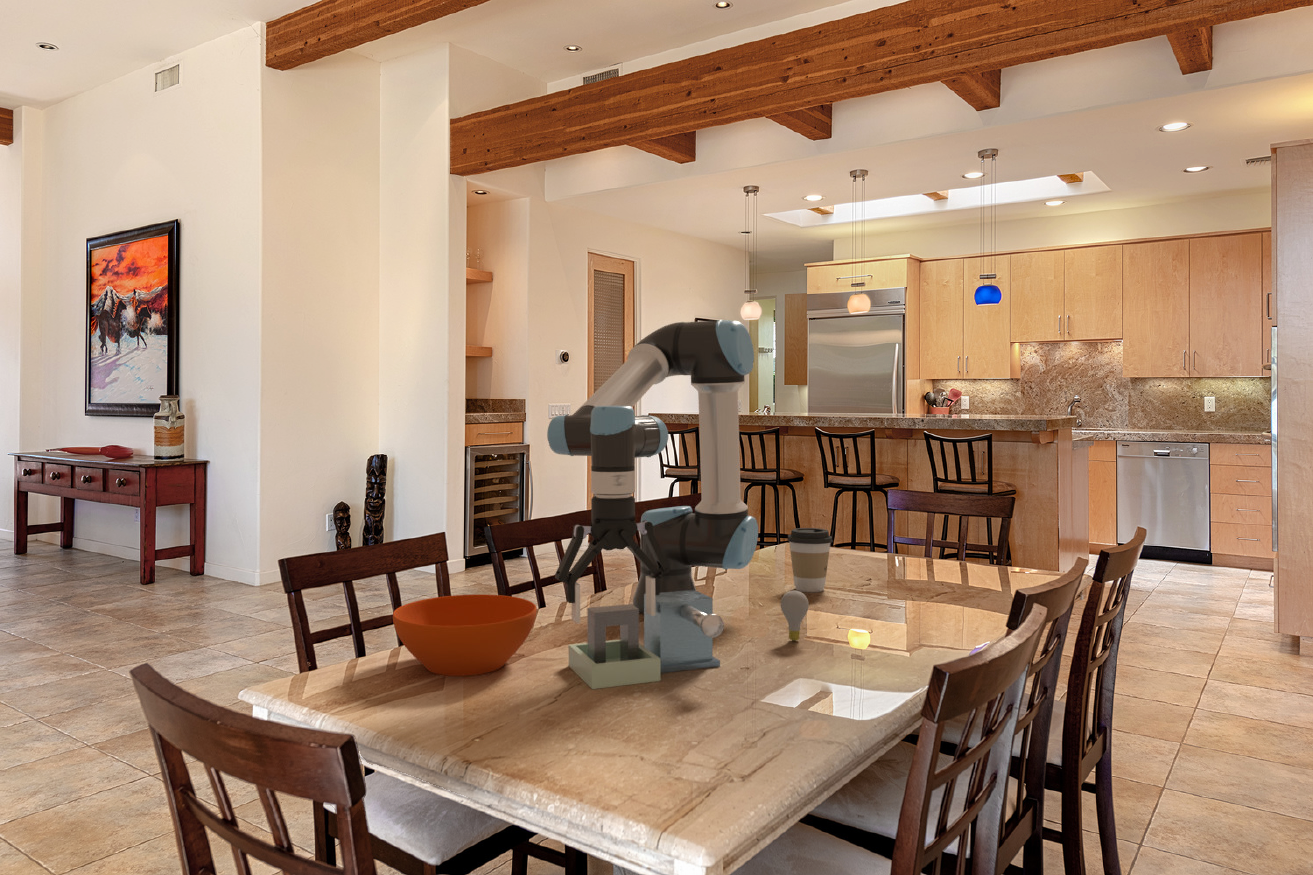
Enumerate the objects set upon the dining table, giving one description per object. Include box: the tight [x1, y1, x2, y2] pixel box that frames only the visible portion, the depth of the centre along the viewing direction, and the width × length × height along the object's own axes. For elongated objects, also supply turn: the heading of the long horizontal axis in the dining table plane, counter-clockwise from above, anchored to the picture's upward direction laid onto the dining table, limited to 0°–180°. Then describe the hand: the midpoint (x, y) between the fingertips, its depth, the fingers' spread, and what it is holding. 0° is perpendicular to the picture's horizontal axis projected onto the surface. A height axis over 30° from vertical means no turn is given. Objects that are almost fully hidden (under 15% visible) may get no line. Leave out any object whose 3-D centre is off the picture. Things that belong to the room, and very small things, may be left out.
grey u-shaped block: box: [586, 603, 640, 664], centre depth 154 cm, size 4×8×10 cm, turn 112°
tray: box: [568, 639, 661, 690], centre depth 154 cm, size 14×12×4 cm
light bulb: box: [780, 589, 810, 642], centre depth 175 cm, size 6×6×10 cm
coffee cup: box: [787, 527, 834, 593], centre depth 225 cm, size 11×11×15 cm
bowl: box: [392, 594, 538, 677], centre depth 159 cm, size 25×25×10 cm
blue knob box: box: [643, 589, 725, 674], centre depth 156 cm, size 20×12×12 cm, turn 22°
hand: (613, 617), depth 154 cm, fingers open, 13 cm apart
